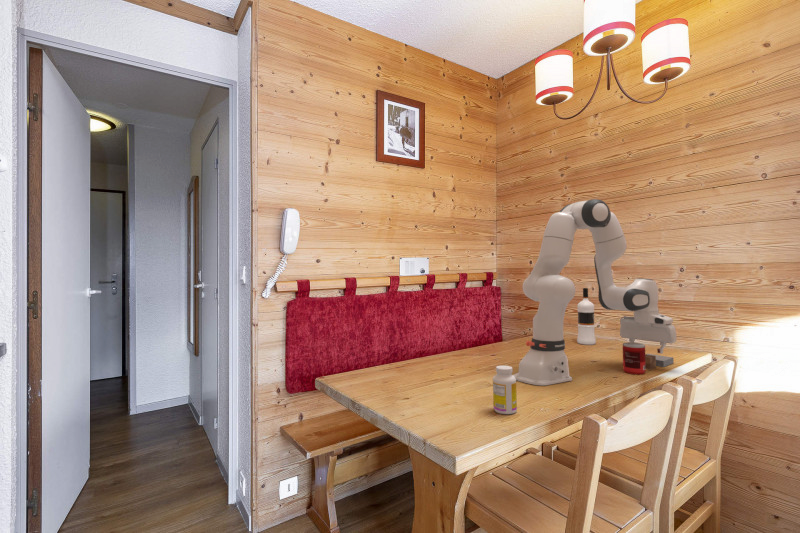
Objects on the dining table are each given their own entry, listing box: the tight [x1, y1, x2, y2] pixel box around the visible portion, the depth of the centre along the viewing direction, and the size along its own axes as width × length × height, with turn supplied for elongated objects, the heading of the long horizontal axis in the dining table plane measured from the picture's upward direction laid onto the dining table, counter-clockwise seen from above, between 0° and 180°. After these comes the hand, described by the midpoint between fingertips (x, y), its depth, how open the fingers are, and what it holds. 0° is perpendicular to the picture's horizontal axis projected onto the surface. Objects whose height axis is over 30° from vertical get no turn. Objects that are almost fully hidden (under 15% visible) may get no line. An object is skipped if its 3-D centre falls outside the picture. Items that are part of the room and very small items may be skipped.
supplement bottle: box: [492, 365, 518, 415], centre depth 117 cm, size 7×7×13 cm
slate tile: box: [646, 353, 674, 368], centre depth 170 cm, size 10×10×2 cm
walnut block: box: [645, 353, 657, 371], centre depth 163 cm, size 5×5×5 cm
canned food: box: [622, 341, 647, 376], centre depth 156 cm, size 8×8×11 cm
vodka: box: [576, 287, 597, 346], centre depth 214 cm, size 9×9×30 cm
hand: (647, 351), depth 163 cm, fingers open, 8 cm apart
